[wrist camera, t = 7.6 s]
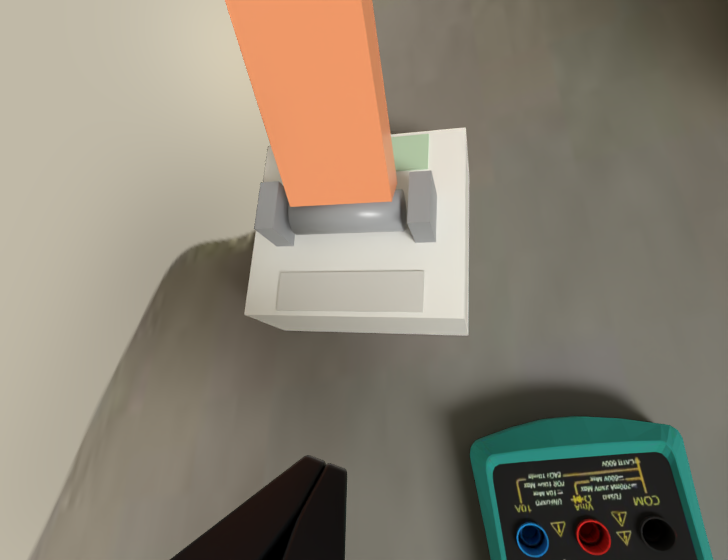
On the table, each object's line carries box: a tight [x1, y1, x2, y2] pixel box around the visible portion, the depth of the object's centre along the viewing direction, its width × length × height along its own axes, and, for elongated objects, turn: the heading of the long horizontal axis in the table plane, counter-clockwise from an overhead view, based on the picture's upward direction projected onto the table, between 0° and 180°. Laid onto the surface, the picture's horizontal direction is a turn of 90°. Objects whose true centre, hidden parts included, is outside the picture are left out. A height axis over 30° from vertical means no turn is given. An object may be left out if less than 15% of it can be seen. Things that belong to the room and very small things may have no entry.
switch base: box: [244, 128, 469, 336], centre depth 19 cm, size 8×9×6 cm
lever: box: [225, 0, 406, 235], centre depth 15 cm, size 2×4×11 cm
